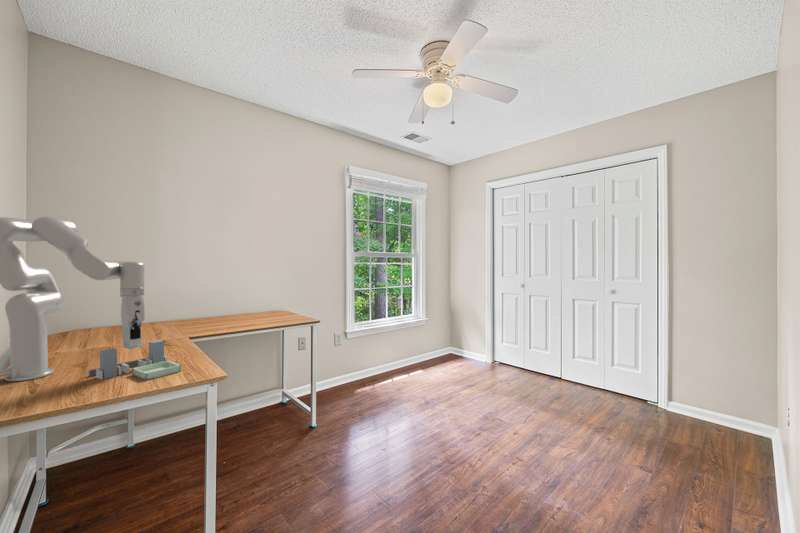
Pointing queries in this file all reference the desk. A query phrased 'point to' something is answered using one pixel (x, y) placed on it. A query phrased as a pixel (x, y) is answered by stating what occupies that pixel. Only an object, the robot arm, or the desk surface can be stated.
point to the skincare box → (127, 341)
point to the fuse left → (108, 362)
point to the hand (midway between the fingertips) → (131, 337)
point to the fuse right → (156, 351)
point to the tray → (156, 370)
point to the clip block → (123, 367)
